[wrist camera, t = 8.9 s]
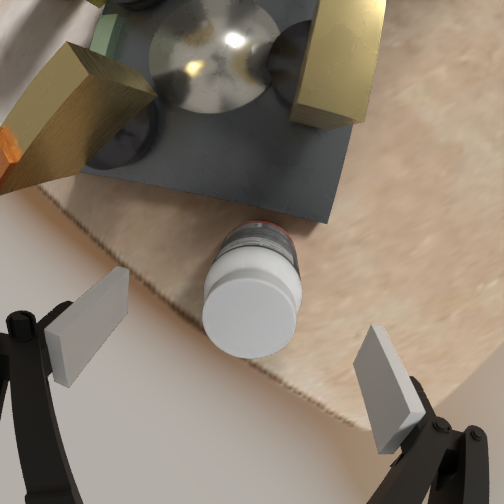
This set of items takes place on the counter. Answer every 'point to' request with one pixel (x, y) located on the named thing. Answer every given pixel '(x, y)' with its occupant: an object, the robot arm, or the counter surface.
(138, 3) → the foot screw
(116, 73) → the tan bar on disc
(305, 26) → the foot screw
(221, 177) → the plate
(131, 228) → the counter surface
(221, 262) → the pill bottle
